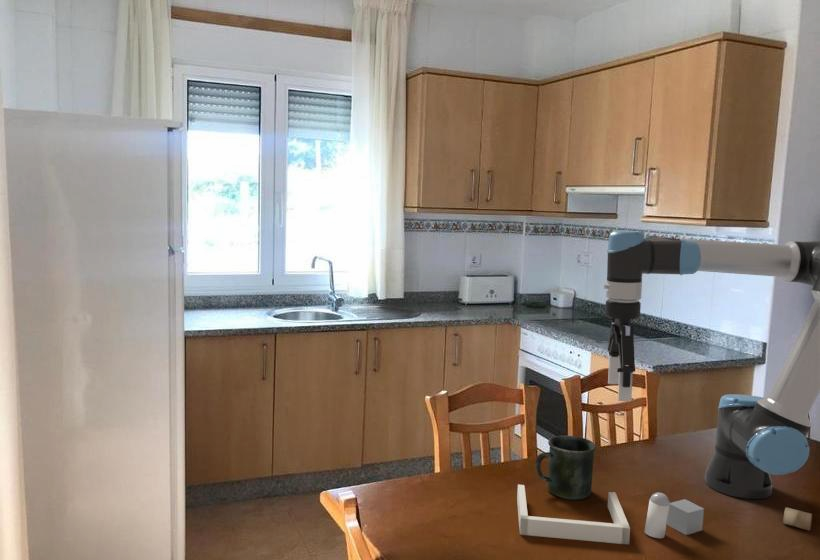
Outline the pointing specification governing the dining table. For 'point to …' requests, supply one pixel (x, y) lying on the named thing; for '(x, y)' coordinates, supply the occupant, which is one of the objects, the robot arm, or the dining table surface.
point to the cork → (797, 518)
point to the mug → (568, 466)
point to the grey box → (685, 516)
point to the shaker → (657, 515)
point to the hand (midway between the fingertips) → (619, 392)
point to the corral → (575, 524)
